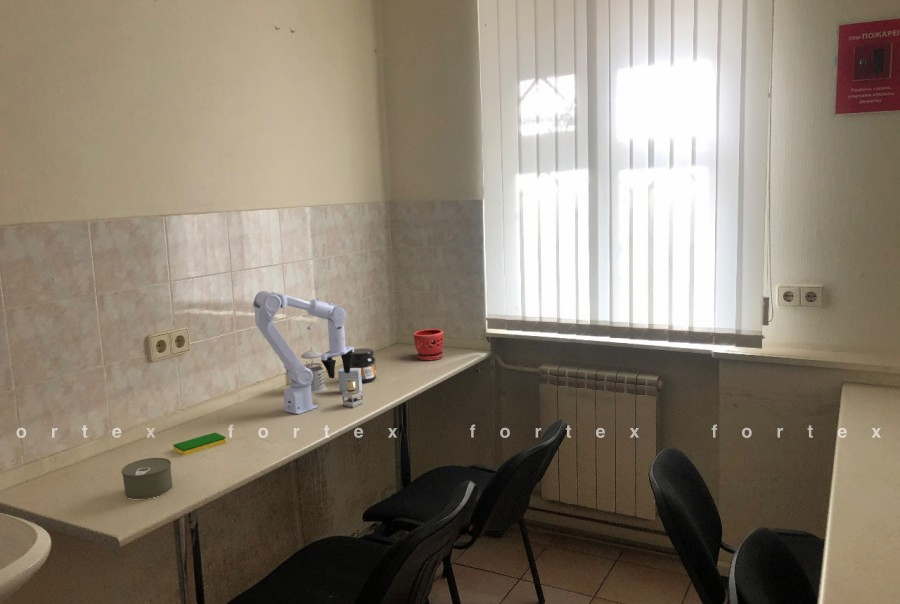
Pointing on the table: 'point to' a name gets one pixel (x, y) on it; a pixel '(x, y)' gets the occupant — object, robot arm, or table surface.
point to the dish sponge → (199, 443)
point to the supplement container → (365, 364)
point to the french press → (315, 370)
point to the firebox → (352, 404)
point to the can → (147, 478)
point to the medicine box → (344, 377)
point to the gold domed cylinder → (351, 390)
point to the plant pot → (429, 344)
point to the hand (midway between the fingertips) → (339, 375)
